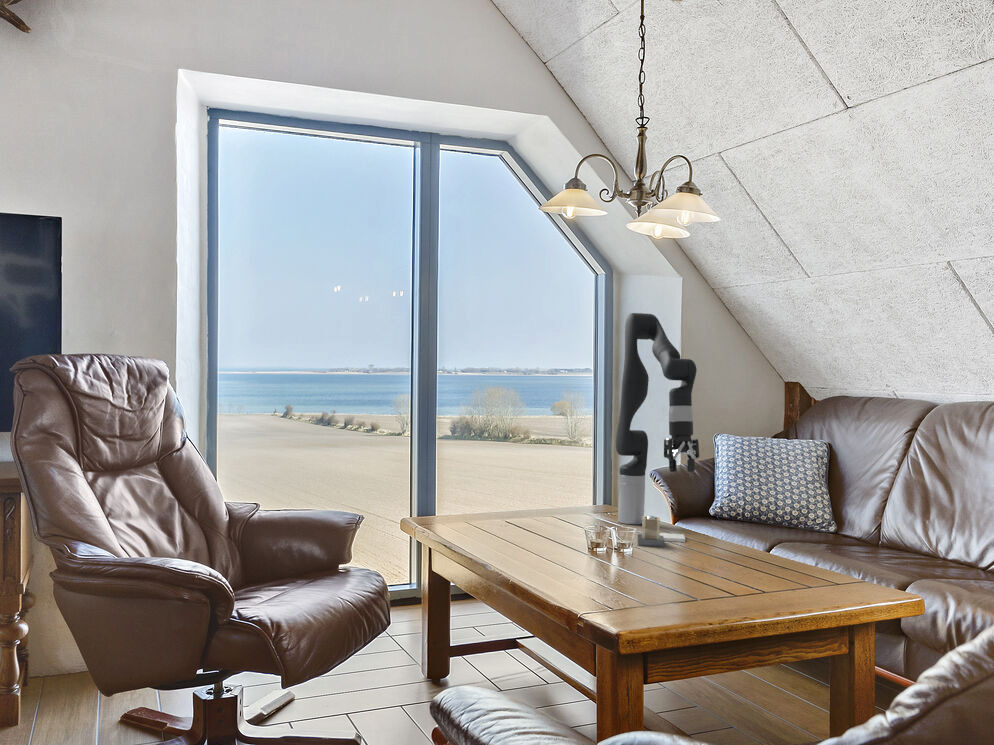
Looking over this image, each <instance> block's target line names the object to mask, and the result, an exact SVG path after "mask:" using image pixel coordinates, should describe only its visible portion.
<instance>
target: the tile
mask: <svg viewBox="0 0 994 745" xmlns="http://www.w3.org/2000/svg"><path fill="white" fill-rule="evenodd" d="M660 536H663V537H664V542H678V543H686V537H685V534H683V533H667V532H660Z"/></svg>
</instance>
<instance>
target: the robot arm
mask: <svg viewBox="0 0 994 745" xmlns="http://www.w3.org/2000/svg"><path fill="white" fill-rule="evenodd" d="M624 323H625V325H624V359H623V360H624V361H623V372H622V380H621V392H620V393H621V397H620V408H619V409H620V410H619V417H618V424H617V428H616V429H617V430H616V437H615V451H616V453H617V454H618V455H619V456H623V457H625V456H626V457H627V456H629V457H631V456H633V458H632V460H630V461H629V462H627V463H625V464H622V465H621V466H619V474H618V475H619V477H618V479H619V480H618V481H619V482H618V512H617V516H618V518H617V523H621V524H626V525H642V522H643V516H645V503H646V501H645V500H646V492H645V491H646V471H647V466H648V452H649V451H648V450H649V437H648V434H647V432H646V431H645V430H642V429H641V430H640V429H638V430H637V429H631V426H632V422H633V420H634V416H635V415H636V413H637V411H638V410H639V409H640V408H641V406H642V405H643V404H644V402H645V401H646V399H647V396H648V393H649V392H648V391H649V381H650V380H649V373H648V371H647V369H646V367H645V365H644V362H643V361H642V360H641V357H640V355H639V349H638V340H644V341H645V340H646V341H647V340H651V341H653V342H652V345H651V346H652V348H651V349H652V354H653V356H654V357H655V358H656V359H655V360H657V362H658V363H659V364H660V367H661V371H662V374H663V376H664V378H666V379H667V380H669V381H679V382H680V381H681V384H680V386H679V387H674V388H671V389H670V390H669V391H668V396H669V397H668V400H669V401H668V402H669V403H668V404H669V406H668V407H669V409H668V434H669V436H671V438H664V439H663V457H664V459H665V458H666V459H667V460H668V469H669V472H670V473H676V472H677V471H678V470H677V469H678V467H677V457H678V455H680V454H681V453H683V455H685V456H686V458H687V460H686V461H687V463H686V464H687V465H686V466H687V472H690V473H692V472H693V473H694V472H695V470H696V469H695V468H696V467H695V466H696V465H695V464H696V462H695V461H696V459H699V458H700V447H699V446H700V445H699V444H700V443H699V439H698V438H696V439H695V438H694V439H693V438H692V436H693V435H694V414H693V412H694V411H693V403H692V402H693V400H692V398H693V397H692V394H693V388H694V383H695V379H696V376H697V370H698V369H697V365H696V363H695V362H694V360H692V359H690V358H681V354H680V352H679V351H678V349H677V348H676V347H675V346H674V345H673V344H672V342H671V340H669V338H668V336H667V334H666V332H665V330H664V328H663V327H662V324H661V322H660V321H659V318H657V316H656V315H654V314H652V313H642V312H630V313H629V314H628V315H627V316H626V319H625V322H624Z"/></svg>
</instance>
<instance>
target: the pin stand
mask: <svg viewBox="0 0 994 745" xmlns="http://www.w3.org/2000/svg"><path fill="white" fill-rule="evenodd" d="M646 517H647V519H655V517H656V516H654V515H647V516H646ZM637 546H643V547H655V548H656V547H657V548H658V547H659V548H660V547H661V548H664V547H665V541H664V537H663V536H659V539H645V538H642V533H638V534H637Z"/></svg>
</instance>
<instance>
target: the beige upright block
mask: <svg viewBox="0 0 994 745" xmlns="http://www.w3.org/2000/svg"><path fill="white" fill-rule="evenodd" d="M641 525H642V526H641V530H642V531H641V534H642V538H645V539H659V536H660V533H661V532H660V531H661V530H660V527H661V526H660V525H661V518H660V517H658V516H655V519H647V516H645V515H644V516H643V522H642V524H641Z"/></svg>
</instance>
